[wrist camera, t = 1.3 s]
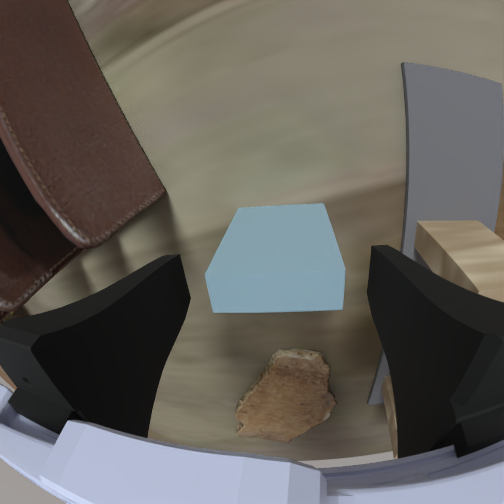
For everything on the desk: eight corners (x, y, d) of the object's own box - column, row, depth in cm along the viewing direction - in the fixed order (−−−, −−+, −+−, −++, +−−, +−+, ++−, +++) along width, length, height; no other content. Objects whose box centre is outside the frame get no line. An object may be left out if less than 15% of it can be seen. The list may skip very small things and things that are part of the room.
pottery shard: (217, 422, 27) (214, 435, 26) (283, 331, 20) (281, 349, 19) (283, 440, 28) (282, 453, 26) (371, 361, 21) (374, 378, 19)
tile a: (417, 221, 14) (478, 290, 8) (478, 220, 14) (546, 280, 8) (414, 246, 15) (467, 324, 9) (473, 244, 14) (534, 309, 8)
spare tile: (238, 208, 16) (204, 274, 10) (323, 203, 15) (345, 269, 9) (242, 234, 17) (213, 312, 10) (324, 230, 16) (342, 309, 10)
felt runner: (497, 83, 10) (501, 83, 10) (434, 391, 21) (435, 394, 21) (401, 63, 11) (403, 62, 11) (367, 401, 22) (367, 405, 22)
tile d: (385, 375, 20) (400, 450, 14) (434, 368, 19) (457, 436, 13) (381, 387, 21) (393, 458, 15) (428, 380, 20) (448, 445, 14)
